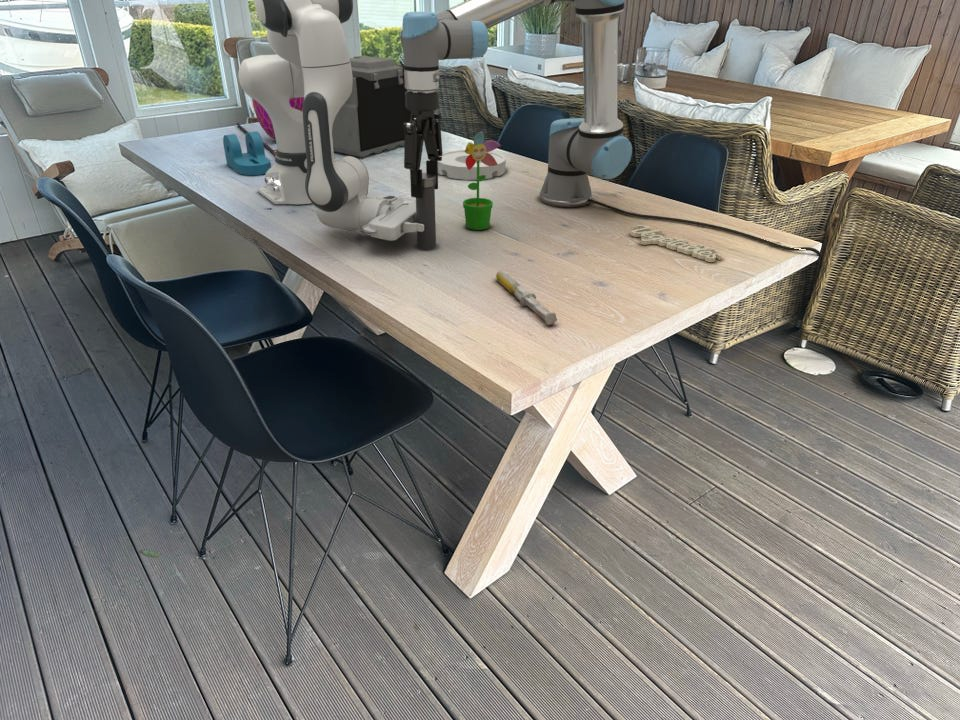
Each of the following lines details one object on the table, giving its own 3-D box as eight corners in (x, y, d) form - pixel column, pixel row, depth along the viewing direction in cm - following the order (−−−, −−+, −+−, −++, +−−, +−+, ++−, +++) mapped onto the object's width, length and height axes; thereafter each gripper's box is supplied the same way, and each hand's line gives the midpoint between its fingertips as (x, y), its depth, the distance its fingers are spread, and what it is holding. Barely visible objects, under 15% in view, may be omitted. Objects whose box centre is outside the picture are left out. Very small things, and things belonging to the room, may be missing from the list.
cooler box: (383, 133, 276) (378, 52, 261) (425, 141, 265) (422, 56, 250) (314, 150, 251) (304, 61, 235) (358, 160, 240) (350, 67, 224)
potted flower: (469, 233, 178) (469, 134, 165) (456, 224, 184) (455, 127, 171) (501, 228, 181) (503, 130, 169) (487, 219, 187) (488, 124, 175)
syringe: (491, 278, 153) (492, 266, 152) (507, 275, 154) (507, 264, 153) (540, 327, 133) (541, 315, 132) (557, 324, 134) (558, 312, 133)
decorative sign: (617, 232, 177) (640, 223, 183) (616, 235, 177) (640, 227, 183) (706, 262, 160) (729, 252, 166) (705, 266, 160) (728, 255, 166)
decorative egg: (293, 132, 276) (283, 50, 261) (319, 140, 264) (310, 56, 249) (249, 139, 265) (236, 54, 250) (273, 148, 253) (261, 60, 238)
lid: (417, 180, 165) (417, 171, 164) (438, 182, 164) (438, 173, 163) (410, 186, 160) (410, 177, 159) (432, 188, 159) (432, 179, 158)
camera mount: (227, 164, 233) (221, 132, 227) (257, 160, 238) (252, 129, 233) (244, 176, 220) (239, 143, 215) (276, 172, 225) (271, 139, 220)
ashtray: (439, 160, 240) (438, 148, 238) (505, 161, 240) (505, 150, 238) (433, 179, 220) (432, 166, 218) (505, 180, 220) (505, 168, 218)
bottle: (420, 242, 172) (418, 174, 163) (438, 244, 171) (436, 175, 163) (415, 249, 168) (412, 179, 160) (433, 250, 167) (431, 180, 159)
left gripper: (357, 217, 160) (411, 224, 156) (394, 193, 177) (444, 199, 173) (359, 243, 164) (412, 250, 160) (396, 216, 180) (445, 223, 176)
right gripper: (415, 98, 142) (418, 206, 154) (456, 85, 158) (457, 183, 170) (383, 95, 145) (389, 202, 156) (428, 82, 161) (430, 180, 172)
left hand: (429, 223), depth 167 cm, fingers closed on bottle, 4 cm apart
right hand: (424, 192), depth 163 cm, fingers open, 7 cm apart
